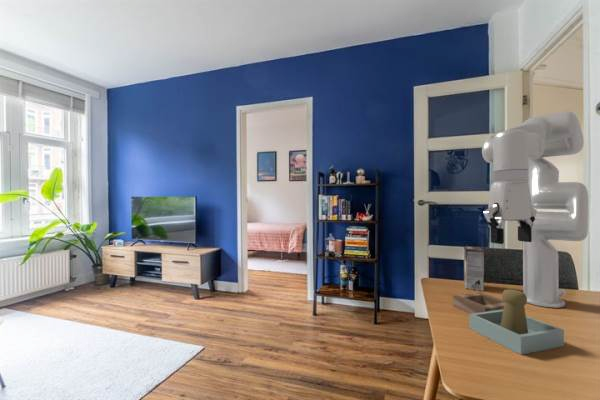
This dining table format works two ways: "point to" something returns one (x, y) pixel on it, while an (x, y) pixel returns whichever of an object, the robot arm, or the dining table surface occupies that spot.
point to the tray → (533, 341)
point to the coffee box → (474, 268)
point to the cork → (514, 311)
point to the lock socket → (477, 303)
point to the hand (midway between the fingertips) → (511, 242)
